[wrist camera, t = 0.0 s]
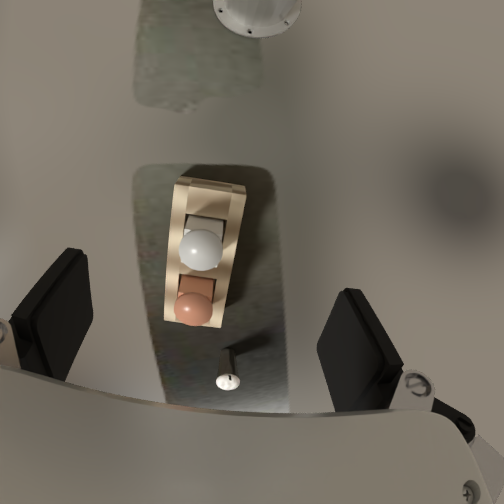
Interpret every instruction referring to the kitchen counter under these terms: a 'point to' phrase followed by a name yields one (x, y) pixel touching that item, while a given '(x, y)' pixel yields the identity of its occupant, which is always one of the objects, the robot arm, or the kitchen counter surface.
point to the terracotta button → (194, 300)
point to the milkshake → (227, 370)
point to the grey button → (201, 243)
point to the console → (230, 211)
